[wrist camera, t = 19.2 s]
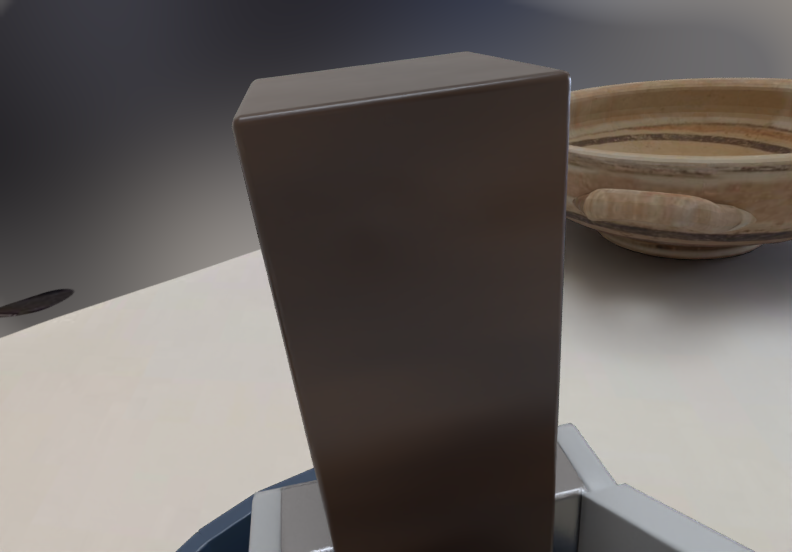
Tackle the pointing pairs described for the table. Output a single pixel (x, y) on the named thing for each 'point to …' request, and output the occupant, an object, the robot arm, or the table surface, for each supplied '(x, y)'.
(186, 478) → the table surface
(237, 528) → the bowl
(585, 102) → the ceramic bowl
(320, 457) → the stick
